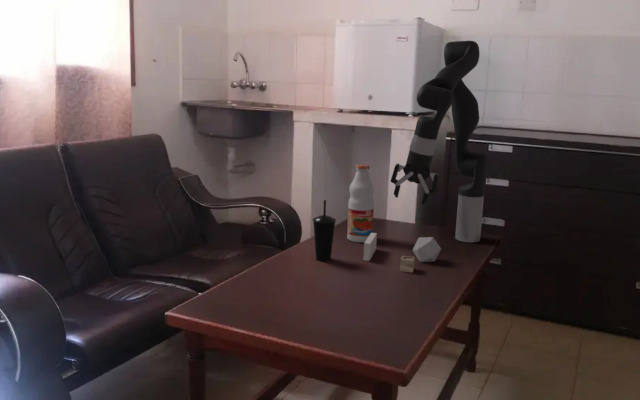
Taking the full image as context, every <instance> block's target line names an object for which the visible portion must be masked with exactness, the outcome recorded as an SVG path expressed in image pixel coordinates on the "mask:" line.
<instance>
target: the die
mask: <svg viewBox="0 0 640 400" xmlns="http://www.w3.org/2000/svg"><path fill="white" fill-rule="evenodd" d="M441 250H442V248H441V246H440V245H439V244H438V242H437V240H436V239H435V238H434V237H433V236H427V237H425V236H424V237H418V239H417V240H416V242H415V244H414V247H413V249H412V252H413V254H414V255H415V257H416V258H417V260H418V261H419V262H420V263H431V262H432V263H433V262H436V260H437V258H438V256H439V254H440V252H441Z"/></svg>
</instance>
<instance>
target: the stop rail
mask: <svg viewBox="0 0 640 400" xmlns="http://www.w3.org/2000/svg"><path fill="white" fill-rule="evenodd" d="M377 233H378V232H372V233H371V234H370V235H369V237H368V238H367V240H366V241H365V242H363V258H362V259H363V261H365V262H370V261H371V259H372V257H373V256H374V254H375V252H376V250H377V239H378V238H377V237H378V236H377V235H378V234H377Z"/></svg>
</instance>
